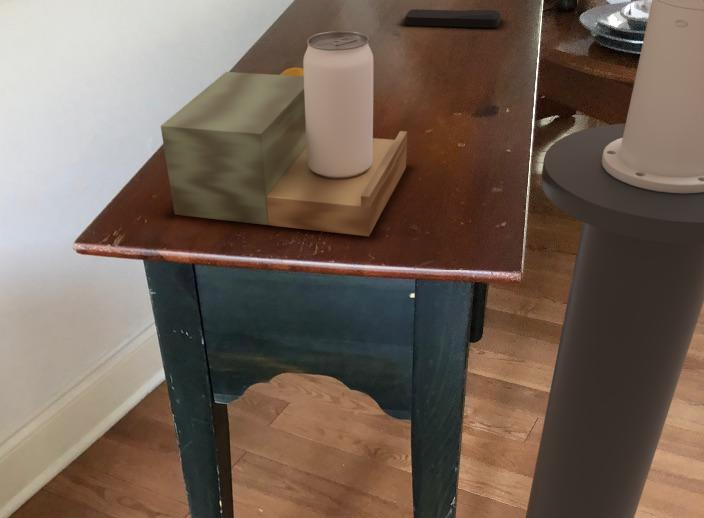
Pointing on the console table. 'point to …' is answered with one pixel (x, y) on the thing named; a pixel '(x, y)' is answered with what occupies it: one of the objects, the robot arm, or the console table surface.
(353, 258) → the console table surface
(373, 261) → the console table surface
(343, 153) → the can
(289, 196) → the green block on base
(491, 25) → the remote control
